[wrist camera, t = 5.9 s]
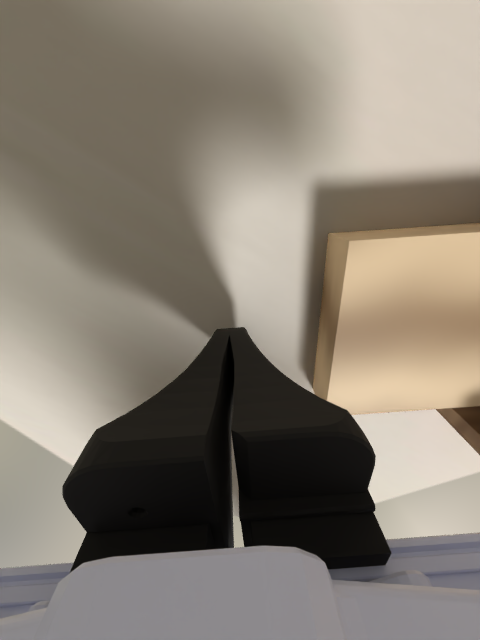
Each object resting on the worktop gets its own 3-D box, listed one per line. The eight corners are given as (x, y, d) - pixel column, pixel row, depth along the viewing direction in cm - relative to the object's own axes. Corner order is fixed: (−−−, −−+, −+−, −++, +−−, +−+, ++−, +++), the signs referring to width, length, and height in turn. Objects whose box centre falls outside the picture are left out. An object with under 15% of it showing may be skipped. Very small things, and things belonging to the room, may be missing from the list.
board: (528, 367, 14) (583, 399, 12) (310, 382, 14) (324, 416, 12) (624, 211, 10) (731, 214, 8) (324, 231, 10) (349, 241, 8)
